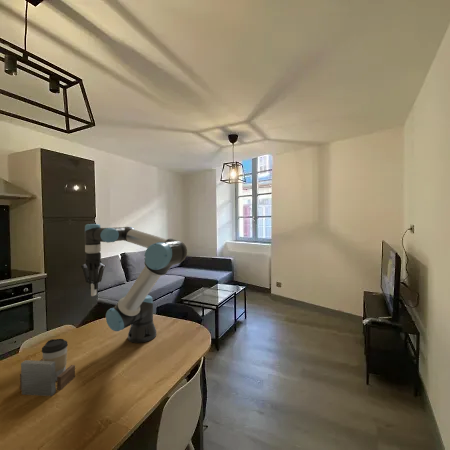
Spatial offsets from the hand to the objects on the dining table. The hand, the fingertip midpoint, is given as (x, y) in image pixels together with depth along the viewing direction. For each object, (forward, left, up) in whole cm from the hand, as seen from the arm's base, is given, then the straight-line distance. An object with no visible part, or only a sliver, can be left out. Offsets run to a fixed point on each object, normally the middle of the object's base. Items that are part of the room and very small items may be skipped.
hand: (93, 295), depth 137 cm
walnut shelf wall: (-4, +32, -24) cm, 40 cm away
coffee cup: (-3, +33, -25) cm, 41 cm away
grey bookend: (-4, +43, -24) cm, 49 cm away
